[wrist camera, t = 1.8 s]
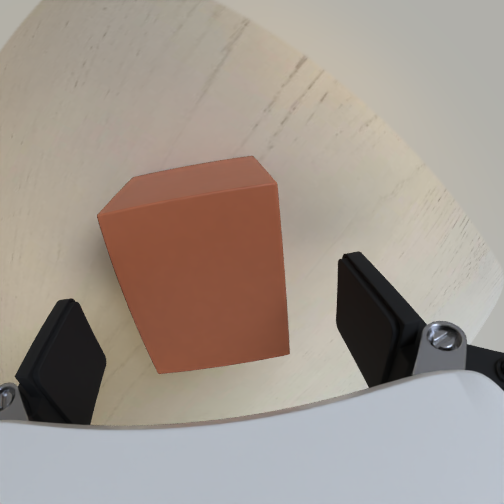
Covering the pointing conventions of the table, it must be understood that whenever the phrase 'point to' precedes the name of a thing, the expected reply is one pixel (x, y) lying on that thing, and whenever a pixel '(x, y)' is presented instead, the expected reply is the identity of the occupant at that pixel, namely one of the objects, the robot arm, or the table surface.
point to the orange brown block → (201, 263)
